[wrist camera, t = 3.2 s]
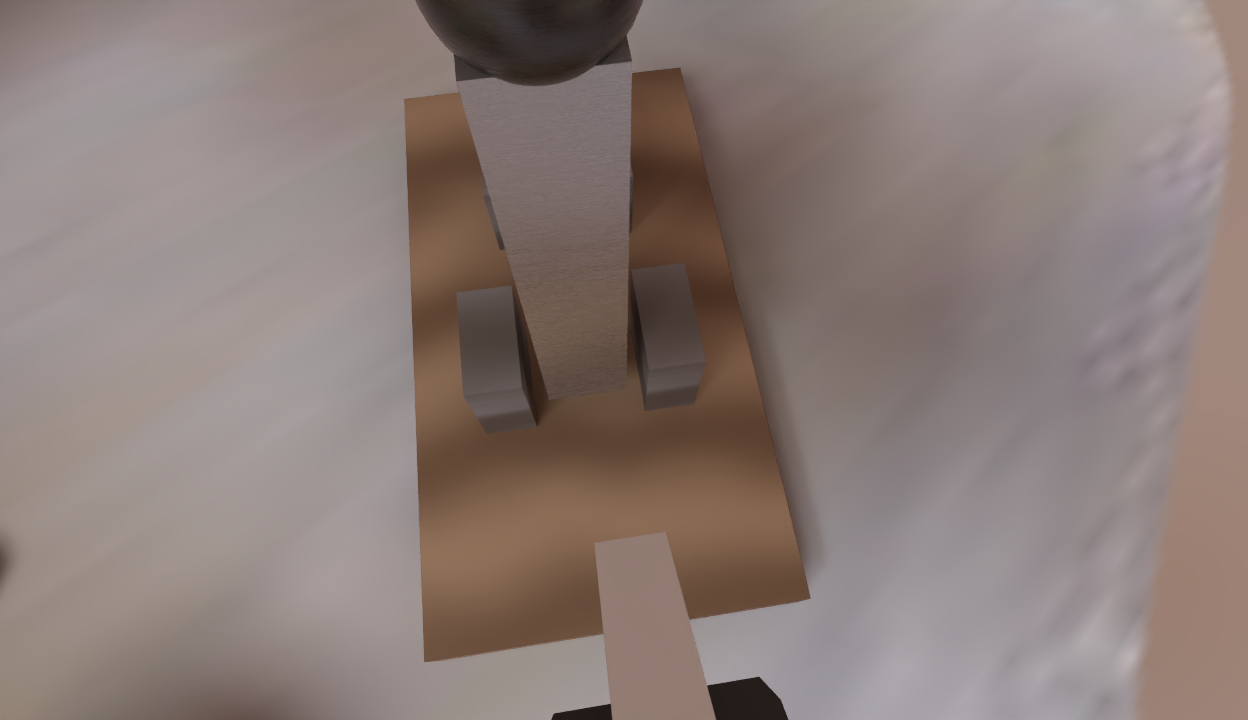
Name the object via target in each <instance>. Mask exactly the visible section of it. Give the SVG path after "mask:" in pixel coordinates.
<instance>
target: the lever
mask: <svg viewBox="0 0 1248 720" xmlns="http://www.w3.org/2000/svg"><path fill="white" fill-rule="evenodd" d="M642 2H643V0H416V3H417V5H418V7H419V9H420V10H421V12H422V14H423V16H424V17H425V19H426V21H427V23H428V24H429V26H430V27H431V29H432V30H433V31H434V32H435V34H436V35H437V36H438V37H439V39H440V40H441V41H442V42H443V44H444V45H445V46H446V47H447V48H448V49H449V50H450V51H451V52H453V53H454V59H455V72H456V83H457V86H458V89H459V93H460V96H461V100H462V103H463V107H464V110H465V113H466V117H467V120H468V124H469V127H470V130H471V134H472V137H473V141H474V144H475V148H476V151H477V154H478V158H479V161H480V165H481V168H482V172H483V175H484V178H485V182H486V185H487V189H488V192H489V195H490V199H491V202H492V206H493V209H494V213H495V216H496V219H497V223H498V226H499V230H500V233H501V237H502V240H503V243H504V247H505V250H506V254H507V257H508V260H509V264H510V267H511V271H512V274H513V278H514V281H515V284H516V288H517V291H518V295H519V298H520V302H521V305H522V308H523V312H524V315H525V319H526V322H527V325H528V329H529V332H530V336H531V339H532V343H533V346H534V349H535V353H536V356H537V360H538V363H539V367H540V370H541V373H542V377H543V380H544V384H545V387H546V390H547V394H548V397H549V400H555V399H562V398H569V397H576V396H583V395H590V394H597V393H604V392H611V391H618V390H625V389H626V382H627V323H628V264H629V205H630V146H631V87H632V60H631V55H630V50H629V45H628V41H627V36H626V35H627V33H628V32H629V30H630V29H631V27H632V26H633V23H634V21H635V19H636V17H637V14H638V12H639V10H640V7H641V5H642Z"/></svg>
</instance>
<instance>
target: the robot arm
mask: <svg viewBox="0 0 1248 720" xmlns="http://www.w3.org/2000/svg"><path fill="white" fill-rule="evenodd" d="M594 545H595V555H596V564H597V574H598V584H599V594H600V603H601V613H602V623H603V632H604V642H605V652H606V662H607V671H608V681H609V691H610V700H611V704H607V705H602V706H596V707H590V708H584V709H578V710H572V711H566V712H561V713H555V714H554V715H553V717H552V720H788V717H787V715H786V712H785V710H784V707H783V704H782V702H781V700H780V698H779V697H778V696H777V695H776V694H775V693H774V692H773V691H772V690H771V689H770V688H769V687H768V686H767V685H766V683H765V682H764V681H763V680H762V679H761V678H760V677H755V678H749V679H743V680H737V681H731V682H726V683H720V684H714V685H708V686H707V684H706V680H705V677H704V673H703V669H702V665H701V662H700V658H699V654H698V651H697V647H696V643H695V639H694V636H693V632H692V628H691V624H690V621H689V617H688V613H687V610H686V606H685V602H684V598H683V595H682V591H681V587H680V583H679V580H678V576H677V572H676V569H675V565H674V561H673V557H672V554H671V550H670V546H669V543H668V539H667V535H666V532H661V533H655V534H648V535H642V536H636V537H629V538H623V539H616V540H610V541H604V542H597V543H594Z"/></svg>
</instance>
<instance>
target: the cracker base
mask: <svg viewBox="0 0 1248 720" xmlns="http://www.w3.org/2000/svg"><path fill="white" fill-rule="evenodd" d="M405 127H406V155H407V184H408V212H409V240H410V268H411V296H412V325H413V353H414V381H415V409H416V438H417V466H418V494H419V522H420V550H421V579H422V607H423V635H424V662H431V661H441V660H448V659H454V658H460V657H466V656H472V655H478V654H484V653H490V652H496V651H502V650H508V649H514V648H520V647H526V646H533V645H539V644H545V643H551V642H557V641H563V640H569V639H575V638H581V637H587V636H593V635H599V634H604V632H603V623H602V613H601V603H600V594H599V584H598V574H597V564H596V555H595V545H594V543H597V542H604V541H610V540H616V539H623V538H629V537H636V536H642V535H648V534H655V533H661V532H666V535H667V539H668V543H669V546H670V550H671V554H672V557H673V561H674V565H675V569H676V572H677V576H678V580H679V583H680V587H681V591H682V595H683V598H684V602H685V606H686V610H687V613H688V617H689V620H691V619H697V618H703V617H709V616H715V615H721V614H727V613H733V612H739V611H745V610H751V609H757V608H763V607H769V606H776V605H782V604H788V603H794V602H799V601H803V600H807V599H810V594H809V590H808V585H807V581H806V577H805V573H804V569H803V565H802V561H801V557H800V553H799V549H798V545H797V541H796V537H795V533H794V529H793V524H792V520H791V516H790V512H789V508H788V504H787V500H786V496H785V492H784V488H783V484H782V480H781V476H780V472H779V468H778V463H777V459H776V455H775V451H774V447H773V443H772V439H771V435H770V431H769V427H768V423H767V419H766V415H765V411H764V407H763V402H762V398H761V394H760V390H759V386H758V382H757V378H756V374H755V370H754V366H753V362H752V358H751V354H750V350H749V346H748V341H747V337H746V333H745V329H744V325H743V321H742V317H741V313H740V309H739V305H738V301H737V297H736V293H735V289H734V285H733V280H732V276H731V272H730V268H729V264H728V260H727V256H726V252H725V248H724V244H723V240H722V236H721V232H720V228H719V224H718V219H717V215H716V211H715V207H714V203H713V199H712V195H711V191H710V187H709V183H708V179H707V175H706V171H705V167H704V163H703V158H702V154H701V150H700V146H699V142H698V138H697V134H696V130H695V126H694V122H693V118H692V114H691V110H690V106H689V102H688V97H687V93H686V89H685V85H684V81H683V77H682V73H681V69H680V68H673V69H664V70H656V71H647V72H638V73H632V87H631V146H630V205H629V264H628V323H627V382H626V389H625V390H618V391H611V392H604V393H597V394H590V395H583V396H576V397H569V398H562V399H555V400H549V397H548V394H547V390H546V387H545V384H544V380H543V377H542V373H541V370H540V367H539V363H538V360H537V356H536V353H535V349H534V346H533V343H532V339H531V336H530V332H529V329H528V325H527V322H526V319H525V315H524V312H523V308H522V305H521V302H520V298H519V295H518V291H517V288H516V284H515V281H514V278H513V274H512V271H511V267H510V264H509V260H508V257H507V254H506V250H505V247H504V243H503V240H502V237H501V233H500V230H499V226H498V223H497V219H496V216H495V213H494V209H493V206H492V202H491V199H490V195H489V192H488V189H487V185H486V182H485V178H484V175H483V172H482V168H481V165H480V161H479V158H478V154H477V151H476V148H475V144H474V141H473V137H472V134H471V130H470V127H469V124H468V120H467V117H466V113H465V110H464V107H463V103H462V100H461V96H460V93H453V94H444V95H436V96H427V97H418V98H409V99H405Z"/></svg>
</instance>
